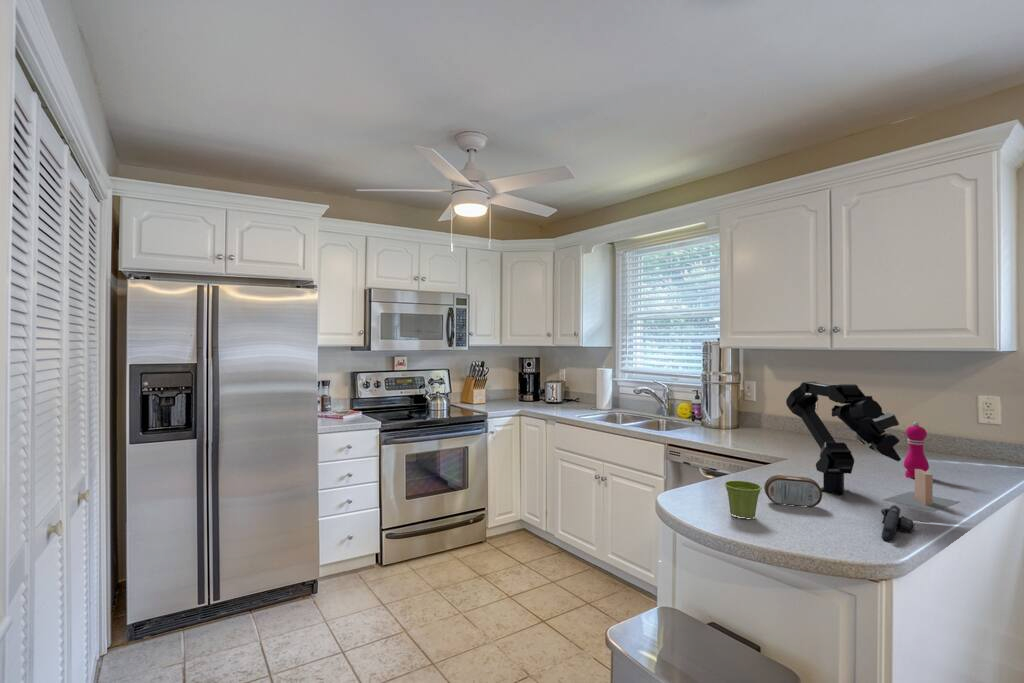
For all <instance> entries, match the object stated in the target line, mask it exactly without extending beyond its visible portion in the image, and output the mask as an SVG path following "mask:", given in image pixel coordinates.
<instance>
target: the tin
mask: <svg viewBox="0 0 1024 683" xmlns="http://www.w3.org/2000/svg"><path fill="white" fill-rule="evenodd" d="M821 488H822V487H821V486H820V485H819V483H817V481H815V480H814V479H813V478H810V477H805V476H804V477H803V476H793V475H782V474H780V475H779V474H777V475H776V474H775V475H773V476H770V477H769V478H768V479H767V480H766V481H765V484H764V493H765V496H766V497H767V499H768V500H770V501H771V502H772V503H774V504H777V505H779V504H786V505H785V506H787V505H794V506H793V507H797V506H807V507H810V508H814V507H816V506H818V505H819V504H820V503H821V501H822V499H823V491H822V490H821ZM807 507H806V508H807Z"/></svg>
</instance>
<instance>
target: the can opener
mask: <svg viewBox="0 0 1024 683" xmlns="http://www.w3.org/2000/svg"><path fill="white" fill-rule="evenodd" d="M879 512H880V513H881V514H882V515H883V519H882V521H881V523H882V524H883V529H882V533H881V539H882V540H883V541H884V540H886V541H885V542H887V541H892V540H893V541H894V538H895V536H896V532H897V528H898V531H899V532H904V533H909V532H910V533H912V531H913V530H914V528H915V523H914V521H913V520H912V519H909V518H908V517H906V516H900V514H901V509H900V507H899V506H898V505H891V506H890V507H889V508H885V507H883V508H881V510H880V511H879ZM893 541H892V542H893Z"/></svg>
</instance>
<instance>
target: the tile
mask: <svg viewBox="0 0 1024 683" xmlns="http://www.w3.org/2000/svg"><path fill="white" fill-rule="evenodd" d="M933 477H934V476H933V474H931V473H930V472H927V471H926V472H925V471H923V470H921V469H915V479H914V492H915V499H916V500H918V501H919V502H921V503H923V504H924V505H929V506H932V505H933V479H934V478H933Z"/></svg>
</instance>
